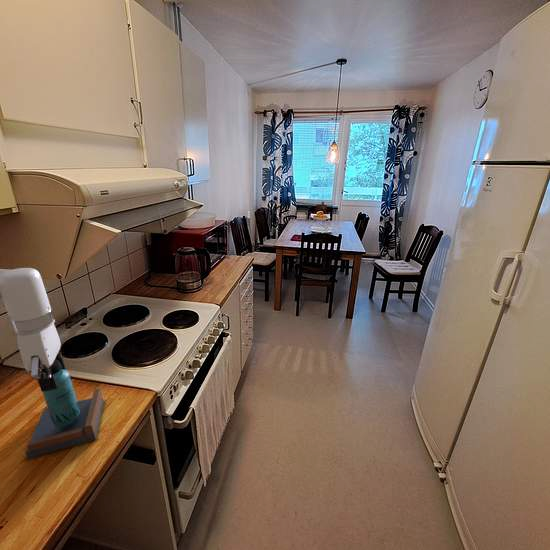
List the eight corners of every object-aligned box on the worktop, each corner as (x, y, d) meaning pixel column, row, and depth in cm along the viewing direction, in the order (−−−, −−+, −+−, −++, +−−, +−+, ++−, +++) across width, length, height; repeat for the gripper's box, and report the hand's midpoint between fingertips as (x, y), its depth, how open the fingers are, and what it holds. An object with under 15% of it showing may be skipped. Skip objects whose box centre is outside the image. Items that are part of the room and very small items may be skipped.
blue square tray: (28, 458, 72) (21, 443, 70) (46, 415, 84) (40, 401, 82) (96, 439, 77) (91, 425, 75) (103, 401, 89) (100, 388, 87)
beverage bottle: (48, 429, 77) (25, 370, 70) (70, 409, 83) (51, 353, 76) (68, 434, 76) (47, 375, 68) (88, 414, 82) (71, 357, 74)
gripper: (28, 305, 73) (48, 362, 80) (-5, 344, 58) (23, 409, 65) (62, 301, 76) (79, 356, 83) (40, 337, 61) (62, 400, 68)
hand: (54, 379), depth 74 cm, fingers closed on beverage bottle, 6 cm apart
